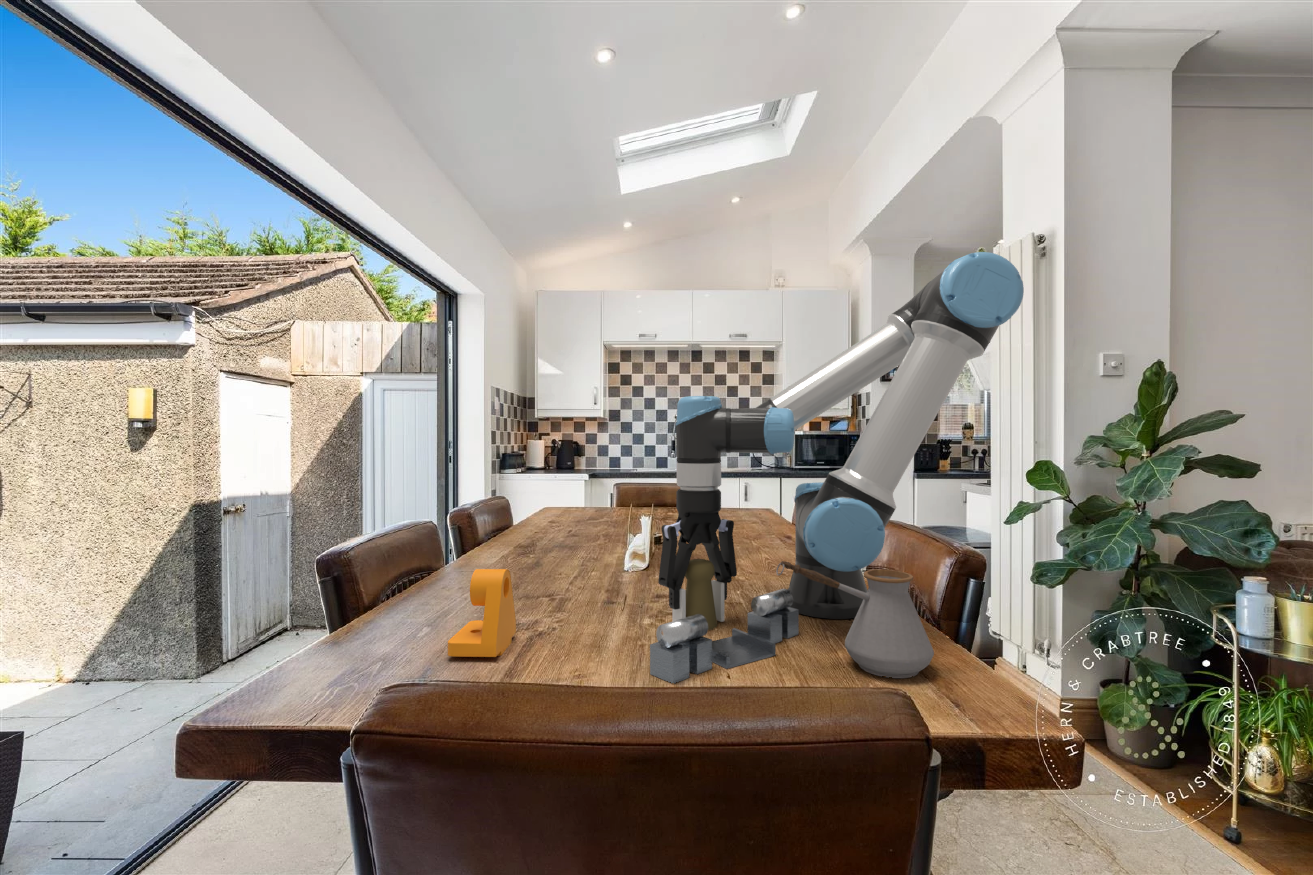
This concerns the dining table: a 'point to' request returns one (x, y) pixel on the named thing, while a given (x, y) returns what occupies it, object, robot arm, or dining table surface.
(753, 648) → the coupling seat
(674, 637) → the shaft
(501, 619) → the bracket
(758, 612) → the shaft
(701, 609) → the olive pepper mill
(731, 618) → the dining table surface
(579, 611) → the dining table surface
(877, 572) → the coffee pot
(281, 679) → the dining table surface
